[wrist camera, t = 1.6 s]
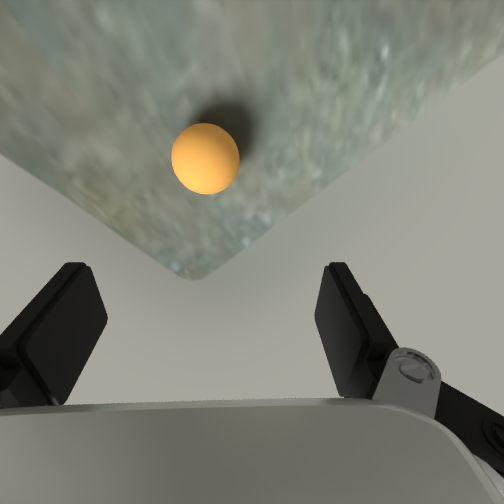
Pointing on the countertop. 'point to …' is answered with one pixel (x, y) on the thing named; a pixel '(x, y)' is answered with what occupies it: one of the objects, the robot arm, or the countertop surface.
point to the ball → (205, 158)
